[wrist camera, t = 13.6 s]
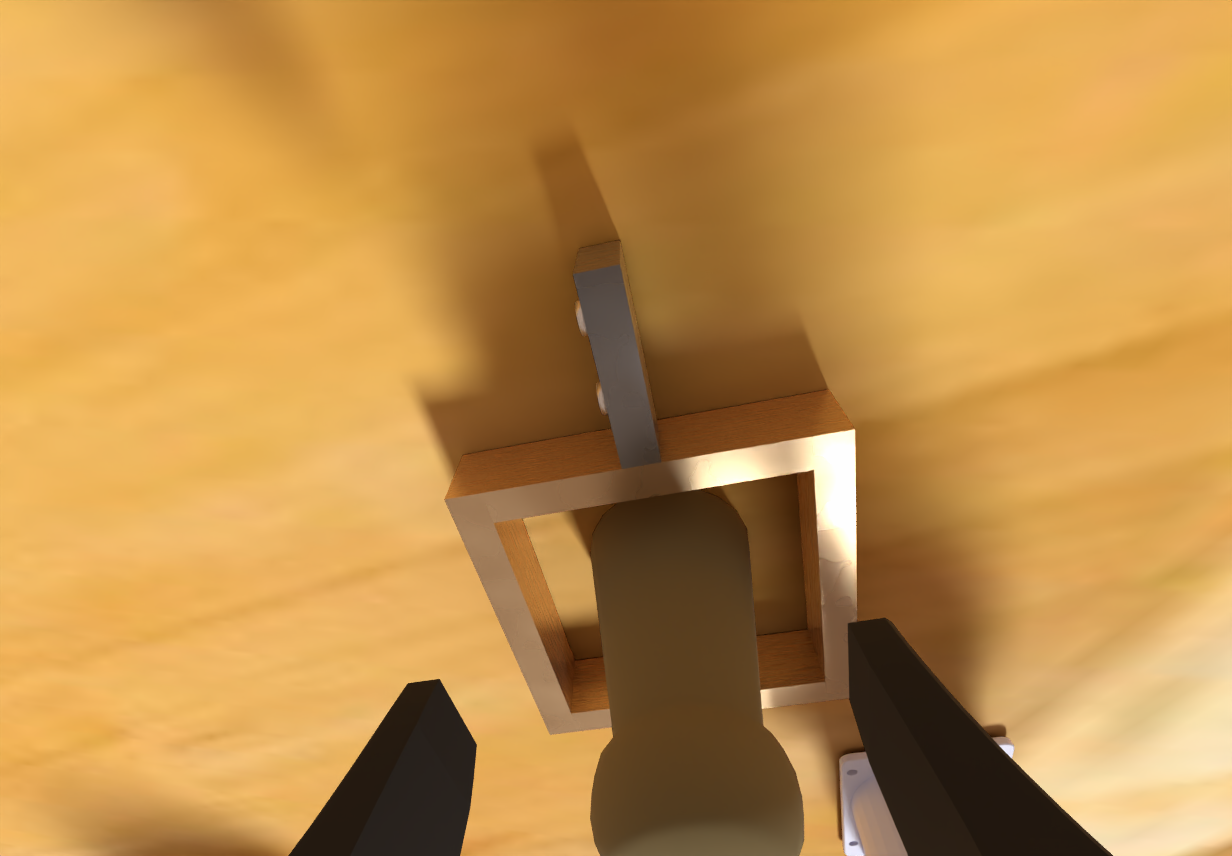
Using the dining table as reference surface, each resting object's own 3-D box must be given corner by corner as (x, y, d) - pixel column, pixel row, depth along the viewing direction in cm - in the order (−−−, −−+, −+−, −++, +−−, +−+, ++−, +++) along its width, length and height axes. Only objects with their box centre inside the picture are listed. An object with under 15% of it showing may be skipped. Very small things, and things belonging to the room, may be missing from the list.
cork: (561, 566, 23) (519, 904, 14) (649, 458, 21) (673, 783, 11) (686, 626, 25) (725, 964, 15) (782, 533, 22) (901, 870, 13)
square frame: (840, 727, 28) (858, 781, 26) (586, 757, 30) (584, 810, 28) (822, 196, 16) (852, 215, 14) (394, 288, 18) (363, 318, 16)
